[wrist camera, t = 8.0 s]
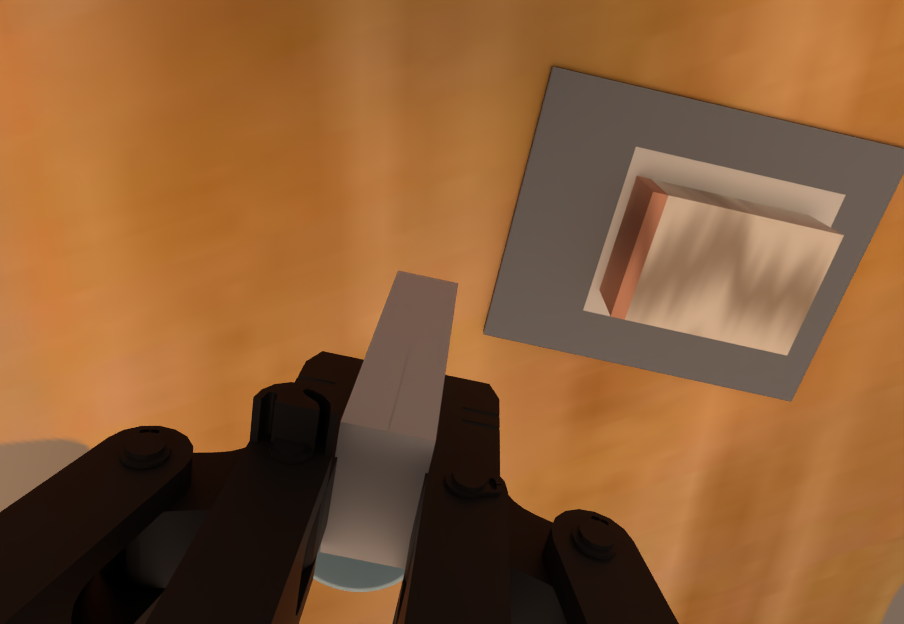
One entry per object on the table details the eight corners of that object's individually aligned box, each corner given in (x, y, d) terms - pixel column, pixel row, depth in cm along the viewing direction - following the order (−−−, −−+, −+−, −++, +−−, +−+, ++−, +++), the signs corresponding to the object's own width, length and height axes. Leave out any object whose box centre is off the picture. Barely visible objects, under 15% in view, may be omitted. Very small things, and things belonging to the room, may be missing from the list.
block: (653, 191, 33) (844, 235, 33) (636, 175, 37) (808, 215, 37) (610, 316, 36) (787, 355, 36) (599, 289, 39) (759, 325, 40)
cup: (412, 366, 43) (390, 464, 33) (454, 459, 46) (445, 574, 36) (308, 399, 44) (258, 502, 35) (355, 487, 47) (320, 605, 37)
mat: (552, 65, 35) (553, 66, 35) (908, 149, 36) (915, 151, 35) (483, 330, 41) (483, 334, 41) (787, 396, 42) (791, 401, 42)
